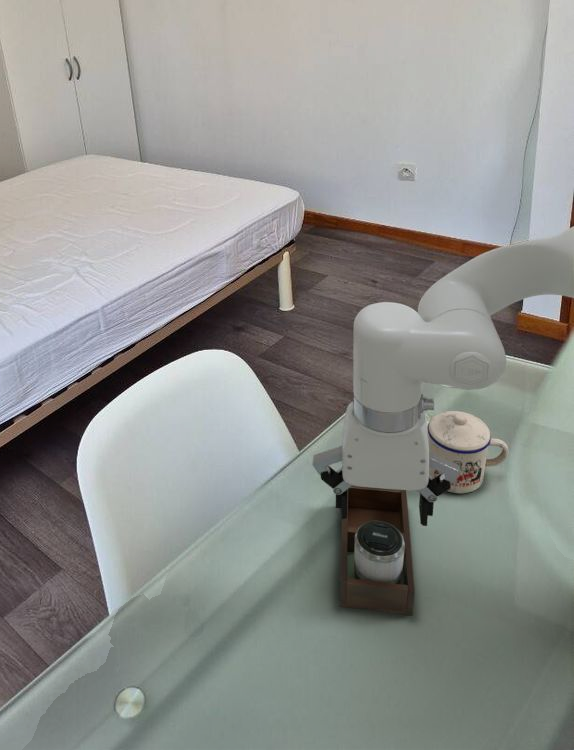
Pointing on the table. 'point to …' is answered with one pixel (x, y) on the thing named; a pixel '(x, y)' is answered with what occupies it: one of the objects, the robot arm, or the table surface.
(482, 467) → the teacup with lid
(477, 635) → the table surface
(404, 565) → the holder
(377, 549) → the camera lens
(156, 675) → the table surface
